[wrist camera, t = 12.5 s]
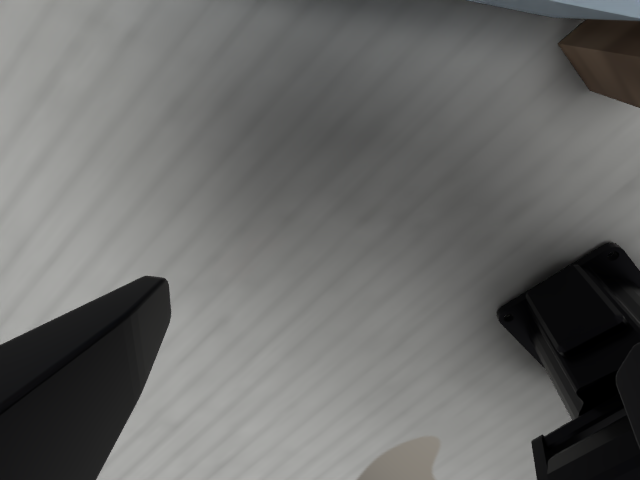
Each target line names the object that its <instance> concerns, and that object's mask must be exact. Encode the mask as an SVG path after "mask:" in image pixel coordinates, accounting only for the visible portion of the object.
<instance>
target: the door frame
mask: <svg viewBox="0 0 640 480" xmlns="http://www.w3.org/2000/svg"><path fill="white" fill-rule="evenodd" d="M558 45H559V46H560V48H561V49H562V51H563V52H564V53H565V55H566V56H567V58H568V59H569V61H570V62H571V64H572V65H573V67H574V68H575V70H576V71H577V72H578V74H579V75H580V77H581V78H582V80H583V81H584V83H585V84H586V86H587V87H588V88H589V90H590V91H592V92H595V93H598V94H601V95H604V96H607V97H610V98H613V99H616V100H619V101H621V102H624V103H627V104H630V105H633V106H636V107H639V108H640V21H618V20H592V19H587V20H585V21H584V22H583V23H582V24H581V25H579V26H578V27H577V28H576V29H575V30H573V31H572V32H571V33H570V34H569V35H567V36H566V37H565V38H564V39H563V40H561V41H560V42H559V43H558Z"/></svg>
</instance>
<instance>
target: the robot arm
mask: <svg viewBox="0 0 640 480" xmlns="http://www.w3.org/2000/svg"><path fill="white" fill-rule="evenodd" d="M611 252H614V253H613V254H612V255H611V256H608V254H609V253H611ZM607 256H608V257H607ZM507 314H511V315H510V316H508V317H504V316H505V315H507ZM497 317H498V319H499V321H500V323H501V324H502V325H503V326H504V327H505V328H506V329H507V330H508V331H509V332H510V333H511V334H512V335H513V336H514V337H515V338H516V339H517V340H518V341H519V342H520V343H521V344H522V345H523V347H524V348H525V349H526V350H527V351H528V352H529V353H530V354H531V355H532V356H533V357H534V358H535V359H536V360H537V361H538V362H539V363H540V364H541V365H542V366H543V367H544V368H545V369H546V371H547V373H548V375H549V377H550V379H551V380H552V382H553V384H554V386H555V388H556V390H557V392H558V394H559V396H560V398H561V400H562V401H563V403H564V405H565V407H566V409H567V411H568V413H569V415H570V417H571V419H572V421H570V422H568V423H566V424H565V425H563V426H561V427H560V428H558V429H556V430H554V431H553V432H551V433H549V434H547V435H546V436H544V435H541V436H539V437H537V438H536V439H534V440H532V449H533V456H534V462H535V469H536V475H537V480H640V271H639V269H638V268H637V267H636V266H635V264H634V263H633V262H632V260H631V259H630V258H629V256H628V255H627V254H626V253H625V251H624V250H623V249H622V248H621V247H620V246H619V245H617V244H616V243H607V244H605V245H603V246H601V247H599V248H598V249H596V250H594V251H593V252H591V253H589V254H588V255H586V256H584V257H583V258H581V259H580V260H578V261H576V262H575V263H573V264H571V265H570V266H568V267H566V268H565V269H563V270H561V271H560V272H558V273H557V274H555V275H553V276H552V277H550V278H548V279H547V280H545V281H543V282H542V283H540V284H538V285H537V286H535V287H533V288H532V289H530V290H529V291H527V292H525V293H524V294H522V295H520V296H519V297H517V298H515V299H514V300H512V301H510V302H509V303H507V304H506V305H504V306H502V307H501V308H500V309H498V311H497ZM170 318H171V305H170V292H169V284H168V281H167V280H166V279H165V278H161V277H154V276H144V277H141V278H139V279H137V280H135V281H133V282H131V283H129V284H127V285H125V286H122V287H120V288H118V289H116V290H114V291H112V292H110V293H108V294H106V295H104V296H102V297H99V298H97V299H95V300H93V301H91V302H89V303H87V304H85V305H83V306H81V307H79V308H77V309H74V310H72V311H70V312H68V313H66V314H64V315H62V316H60V317H58V318H56V319H54V320H51V321H49V322H47V323H45V324H43V325H41V326H39V327H37V328H35V329H33V330H31V331H28V332H26V333H24V334H22V335H20V336H18V337H16V338H14V339H12V340H10V341H8V342H5V343H3V344H1V345H0V480H96V479H97V477H98V475H99V473H100V471H101V469H102V467H103V465H104V464H105V462H106V460H107V458H108V456H109V454H110V452H111V450H112V449H113V447H114V445H115V443H116V441H117V439H118V437H119V435H120V433H121V432H122V430H123V428H124V426H125V424H126V422H127V420H128V418H129V417H130V415H131V413H132V411H133V409H134V407H135V405H136V403H137V401H138V399H139V397H140V395H141V393H142V391H143V388H144V386H145V384H146V381H147V379H148V376H149V374H150V371H151V369H152V366H153V364H154V361H155V359H156V356H157V353H158V351H159V348H160V346H161V343H162V341H163V338H164V336H165V333H166V331H167V328H168V326H169V323H170Z"/></svg>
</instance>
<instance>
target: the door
mask: <svg viewBox="0 0 640 480" xmlns="http://www.w3.org/2000/svg"><path fill="white" fill-rule="evenodd" d="M467 1H473V2H478V3H483V4H488V5H493V6H498V7H503V8H508V9H513V10H518V11H523V12H528V13H533V14H538V15H543V16H548V17H553V18H574V19H592V20H618V21H640V0H467Z"/></svg>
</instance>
